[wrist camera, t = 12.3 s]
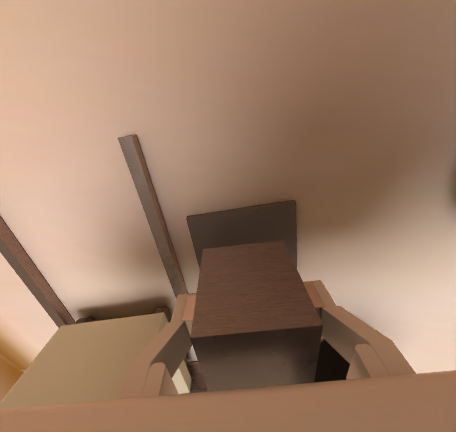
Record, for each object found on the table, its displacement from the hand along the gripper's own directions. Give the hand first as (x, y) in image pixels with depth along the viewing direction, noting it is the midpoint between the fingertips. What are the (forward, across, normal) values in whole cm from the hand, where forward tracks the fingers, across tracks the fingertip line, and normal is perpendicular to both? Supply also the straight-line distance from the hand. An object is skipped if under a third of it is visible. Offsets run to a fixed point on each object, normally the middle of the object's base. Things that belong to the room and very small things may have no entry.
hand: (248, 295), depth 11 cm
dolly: (+5, +11, +10) cm, 16 cm away
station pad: (+6, 0, +2) cm, 6 cm away
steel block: (+2, 0, 0) cm, 2 cm away
